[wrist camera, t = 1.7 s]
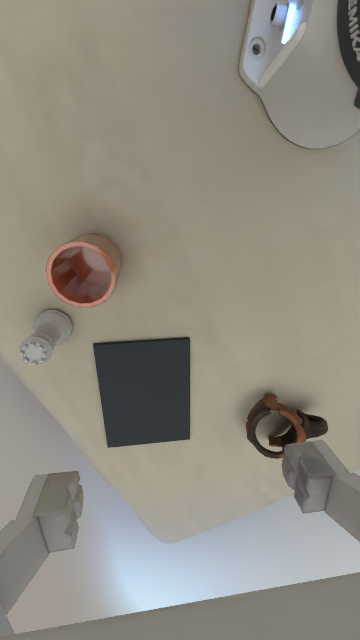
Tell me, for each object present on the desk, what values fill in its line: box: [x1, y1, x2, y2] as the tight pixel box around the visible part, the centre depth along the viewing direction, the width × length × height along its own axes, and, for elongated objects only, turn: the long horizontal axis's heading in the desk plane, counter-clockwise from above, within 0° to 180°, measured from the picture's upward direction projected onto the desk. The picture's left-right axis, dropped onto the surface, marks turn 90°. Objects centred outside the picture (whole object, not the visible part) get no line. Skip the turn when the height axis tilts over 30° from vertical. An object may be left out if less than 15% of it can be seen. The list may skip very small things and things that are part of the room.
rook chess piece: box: [20, 310, 72, 365], centre depth 33 cm, size 4×4×8 cm
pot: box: [46, 234, 121, 308], centre depth 30 cm, size 6×6×8 cm
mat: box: [93, 338, 190, 448], centre depth 42 cm, size 18×13×1 cm
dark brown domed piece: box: [246, 394, 328, 459], centre depth 44 cm, size 12×10×8 cm
